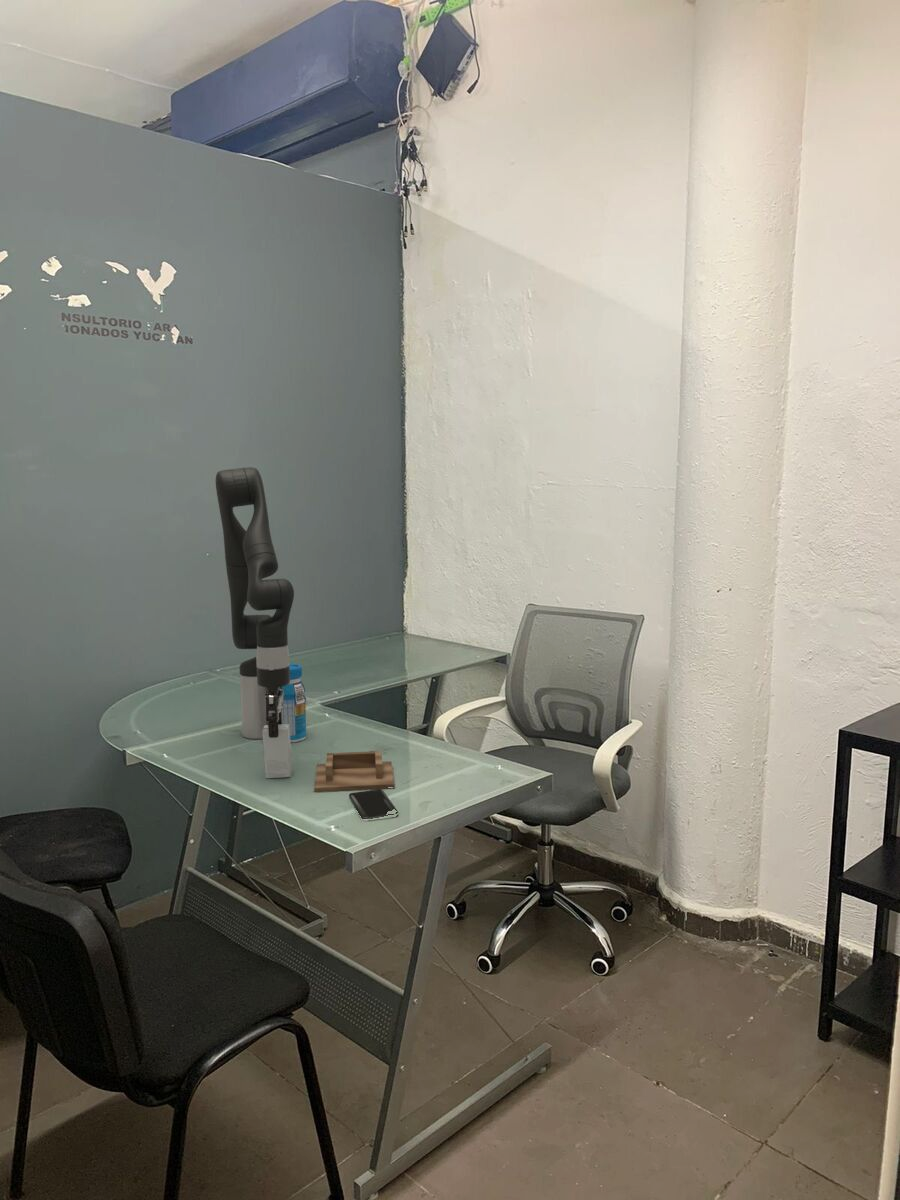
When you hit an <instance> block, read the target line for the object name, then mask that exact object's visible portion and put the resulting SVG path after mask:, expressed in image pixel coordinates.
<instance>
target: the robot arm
mask: <svg viewBox="0 0 900 1200" xmlns="http://www.w3.org/2000/svg"><path fill="white" fill-rule="evenodd" d="M215 475H216V476H215V490H216V496H217V497H216V498H217V502H218V503H217V504H218V508H219V514H220V521H221V524H222V525H221V526H222V527H221V528H222V532H223V533H222V534H223V545H224V560H225V567H226V575H227V576H226V577H227V582H228V591H229V595H230V596H229V597H230V598H229V599H230V612H231V613H230V615H231V617H230V618H231V635H232V636H231V637H232V641H233V643H234V644H233V645H234V646H235V648H236V649H239V650H256V655H255V657H253V658H250V659H247V660H244V661H242V662H241V663H240V664H239V682H240V683H239V686H240V687H239V688H240V704H241V705H240V708H241V709H240V710H241V729H242V733H241V735H242V736H243V738H246V739H251V740H253V739H254V740H255V739H256V740H257V739H263V732H262V731H263V728H264V725H268V731H269V737H270V738H277V737H278V735H279V730H278V725H281V724H282V710H283V694H284V693H283V691H282V686H286V685H288V684H289V683H290V665H289V664H290V650H289V645H288V644H289V642H288V626H289V621H290V615H291V611H292V607H293V603H294V598H295V590H294V587H293V584H292V582H291V581H289V580H288V579H286V578H272V579H267V578H269V577H271V576H273V575H274V574H276V572H277V571H278V570H279V562H278V559H277V555H276V551H275V548H274V544H273V539H272V535H271V529H270V522H269V513H268V512H269V511H268V507H267V500H266V499H267V498H266V493H265V488H264V484H263V479H262V476H261V473H260V471H259V470H258V469H257V468H256V467H247V466H246V467H241V468H232V469H231V468H230V469H222V470H220V471H218V472H217V473H216V474H215ZM252 505H253V514H252V517H251V519H250V523H249V524H248V527H247V529H246V530H245V528H244V527H243V526H242V524H241V523H240V521H239V520H238V519H237V517H236V515H235V513H234V508H236V507H245V506H252ZM247 604H249V606H250V607H251V608H252V609H253V610H255V611H260V612H261V611H272V610H273V611H274V610H275V612H274V614H273V615H272V616H271V615H269V614H245V613H244V611H245V609H246V606H247Z"/></svg>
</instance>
